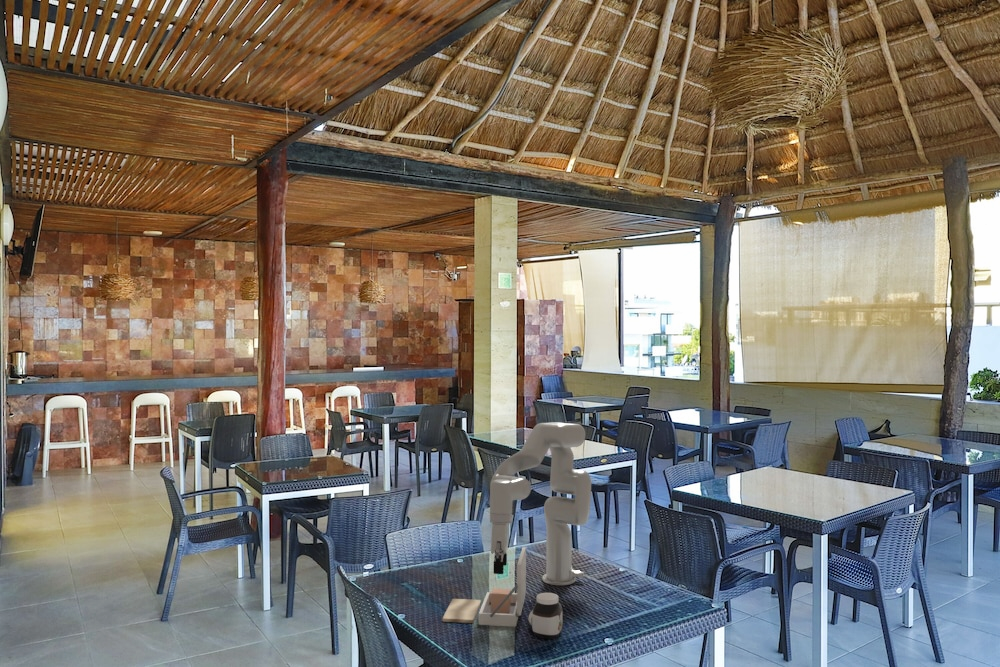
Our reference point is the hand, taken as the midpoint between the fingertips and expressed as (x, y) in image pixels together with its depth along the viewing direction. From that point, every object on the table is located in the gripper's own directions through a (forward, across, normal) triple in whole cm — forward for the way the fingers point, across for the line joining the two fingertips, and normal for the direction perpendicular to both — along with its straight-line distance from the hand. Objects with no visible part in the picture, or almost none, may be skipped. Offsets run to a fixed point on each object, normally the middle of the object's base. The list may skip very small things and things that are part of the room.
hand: (500, 569), depth 235 cm
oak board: (+15, -1, -13) cm, 20 cm away
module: (+14, -1, 0) cm, 14 cm away
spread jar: (+15, +12, +15) cm, 25 cm away
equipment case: (+15, -1, 0) cm, 15 cm away
